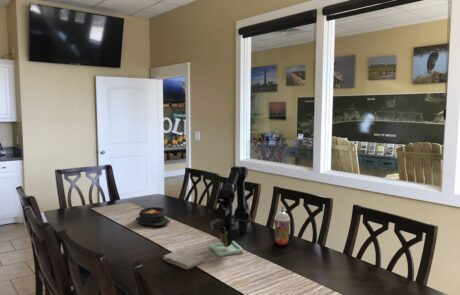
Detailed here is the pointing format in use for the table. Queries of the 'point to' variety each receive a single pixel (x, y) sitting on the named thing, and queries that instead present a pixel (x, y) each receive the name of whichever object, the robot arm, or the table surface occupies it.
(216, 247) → the tray
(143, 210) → the casserole
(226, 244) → the cup
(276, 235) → the smoothie
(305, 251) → the table surface
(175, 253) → the washcloth
